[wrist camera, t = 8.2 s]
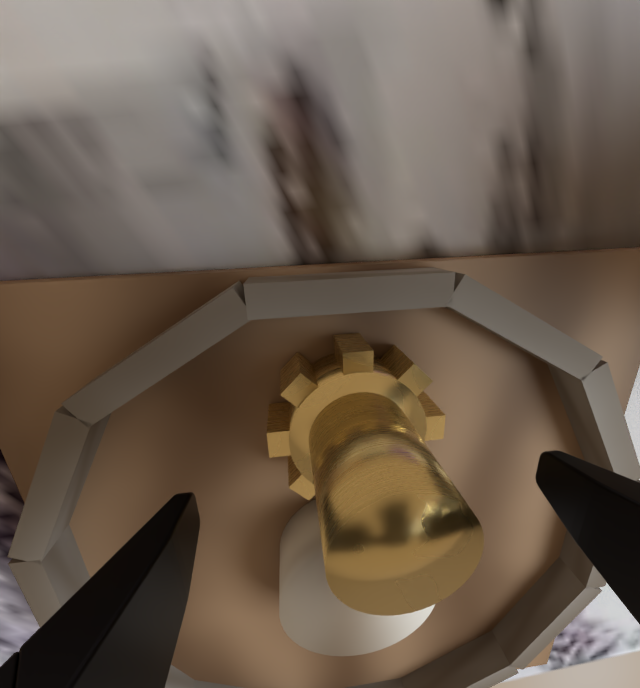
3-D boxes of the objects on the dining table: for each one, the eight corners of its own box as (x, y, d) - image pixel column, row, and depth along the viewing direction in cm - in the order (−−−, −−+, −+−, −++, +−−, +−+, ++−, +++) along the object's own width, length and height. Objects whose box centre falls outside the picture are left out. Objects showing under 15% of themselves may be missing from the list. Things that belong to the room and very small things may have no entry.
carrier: (645, 247, 12) (779, 250, 9) (534, 643, 20) (583, 723, 17) (-38, 283, 10) (-194, 306, 7) (136, 712, 18) (103, 820, 15)
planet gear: (425, 327, 11) (571, 418, 6) (416, 460, 13) (518, 631, 7) (262, 339, 11) (240, 453, 5) (276, 476, 13) (272, 673, 7)
